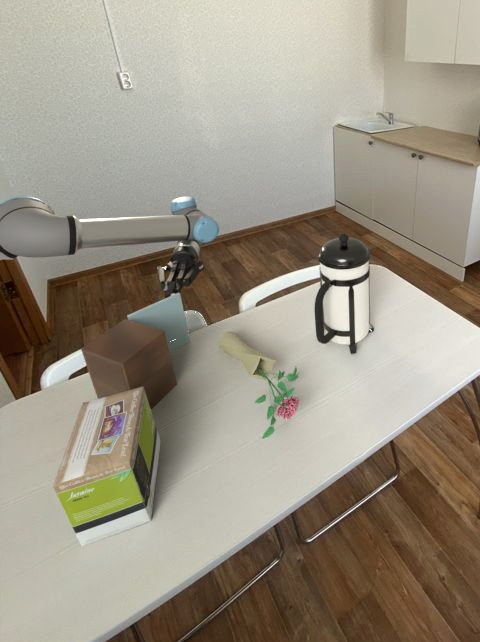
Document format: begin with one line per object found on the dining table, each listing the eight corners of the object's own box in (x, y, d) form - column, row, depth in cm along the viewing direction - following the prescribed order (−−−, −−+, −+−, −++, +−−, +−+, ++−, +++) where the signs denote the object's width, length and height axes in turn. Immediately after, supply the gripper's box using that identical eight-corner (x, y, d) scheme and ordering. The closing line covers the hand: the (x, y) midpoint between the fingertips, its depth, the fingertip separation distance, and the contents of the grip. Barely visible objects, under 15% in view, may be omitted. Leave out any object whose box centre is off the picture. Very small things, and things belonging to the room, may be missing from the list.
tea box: (102, 459, 71) (81, 400, 66) (162, 441, 75) (146, 383, 69) (79, 550, 58) (50, 485, 53) (152, 523, 61) (132, 459, 56)
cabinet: (139, 370, 92) (124, 318, 87) (177, 384, 88) (164, 331, 82) (99, 403, 83) (80, 348, 78) (139, 420, 79) (122, 363, 74)
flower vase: (247, 369, 101) (327, 433, 75) (200, 381, 93) (271, 458, 67) (250, 324, 101) (331, 373, 75) (204, 333, 93) (275, 390, 67)
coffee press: (312, 322, 107) (305, 225, 97) (368, 314, 110) (367, 219, 100) (318, 368, 92) (310, 257, 81) (383, 357, 94) (383, 249, 84)
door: (137, 362, 94) (123, 312, 89) (185, 336, 102) (175, 289, 97) (141, 367, 92) (128, 316, 87) (190, 341, 100) (180, 293, 95)
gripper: (209, 263, 122) (198, 307, 101) (165, 269, 119) (144, 315, 98) (205, 242, 120) (193, 283, 98) (160, 248, 117) (137, 291, 95)
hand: (168, 299), depth 98 cm, fingers closed
